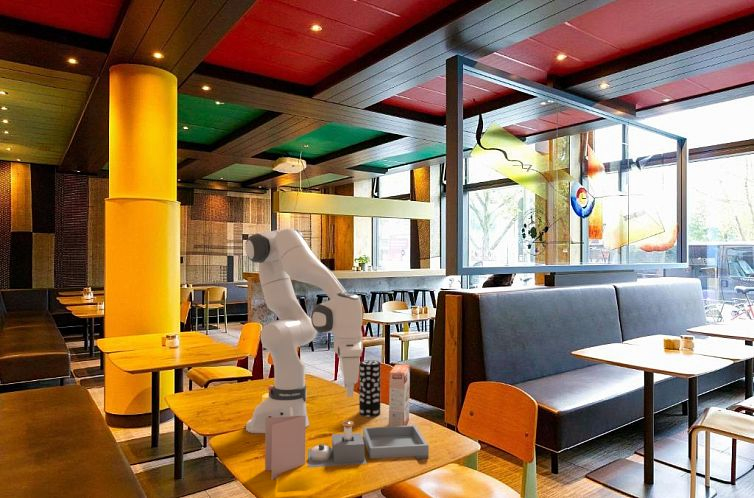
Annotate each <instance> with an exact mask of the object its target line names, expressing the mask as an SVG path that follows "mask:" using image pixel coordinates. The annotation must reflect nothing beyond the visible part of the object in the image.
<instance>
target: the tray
mask: <svg viewBox="0 0 754 498" xmlns="http://www.w3.org/2000/svg"><path fill="white" fill-rule="evenodd" d="M362 437H363V440H364V445H365V447H366V450H367V453H368V456H369V459H370V460H372V459H387V458H403V457H414V458H415V460H424V459H429V453H430V452H429V449H430V448H429V446H430V445H429V444H428V442H427V440H426V439H425V438H424V437H423V434H422V433H421V432H420V431H419V429H418V428H417V425H415V424H413V425H412V424H410V425H408V424H407V425H406V426H389V425H388V426H387V425H386V426H370V427H362Z"/></svg>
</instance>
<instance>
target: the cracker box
mask: <svg viewBox="0 0 754 498" xmlns="http://www.w3.org/2000/svg"><path fill="white" fill-rule="evenodd" d="M410 373H411V365H408V364H395V365H394V366H393V368H392V369H391V370H390V371H389V384H388V385H389V388H388V389H389V391H388V392H389V393H388V394H389V396H388V397H389V399H388V426H408V423H409V420H410V388H411V387H410V380H411V379H410V378H411V377H410V376H411V375H410Z"/></svg>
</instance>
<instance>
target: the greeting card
mask: <svg viewBox="0 0 754 498" xmlns="http://www.w3.org/2000/svg"><path fill="white" fill-rule="evenodd" d="M305 420H306V416H289V417H269V418H266V426H265V433H264V435H265V438H264V439H265V440H264V441H265V443H264V444H265V446H264V452H265V454H264V456H265V457H264V458H265V459H264V460H265V461H264V470H265V471H271V472H270V473H271V478H270V480H271V479H272V480H275V479H277V477H278V478H279V477H280V474H282V473H284V472H287V471H290V470H293V469H295V468H298V467H301V466H303V465H306V427H305ZM274 478H275V479H274Z"/></svg>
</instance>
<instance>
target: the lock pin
mask: <svg viewBox="0 0 754 498" xmlns="http://www.w3.org/2000/svg"><path fill="white" fill-rule="evenodd" d="M341 425H342V427H343V434H344V442H346V441H352V433H353V430H352V429H353V426H354V425H355V422H354V421H353V420H343V421H342V422H341Z"/></svg>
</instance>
